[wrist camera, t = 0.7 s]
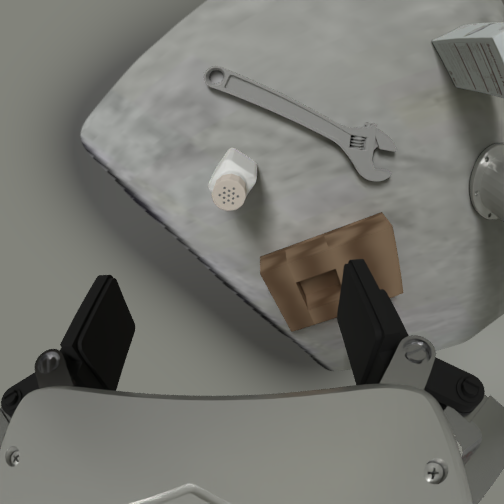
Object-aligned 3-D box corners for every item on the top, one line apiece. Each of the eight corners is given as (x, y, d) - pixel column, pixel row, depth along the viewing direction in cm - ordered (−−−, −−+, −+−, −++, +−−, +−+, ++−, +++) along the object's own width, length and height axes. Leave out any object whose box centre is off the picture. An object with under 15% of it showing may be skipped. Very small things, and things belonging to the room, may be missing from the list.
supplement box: (462, 23, 22) (525, 20, 12) (485, 70, 25) (548, 83, 15) (428, 39, 25) (491, 35, 14) (454, 89, 28) (518, 104, 17)
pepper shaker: (231, 144, 34) (222, 166, 26) (259, 162, 35) (259, 190, 27) (213, 170, 36) (199, 200, 28) (240, 188, 37) (234, 222, 29)
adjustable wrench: (201, 83, 30) (198, 83, 29) (228, 37, 27) (226, 35, 26) (375, 184, 36) (379, 189, 35) (402, 146, 33) (408, 149, 32)
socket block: (381, 212, 38) (392, 225, 35) (394, 276, 44) (403, 292, 40) (260, 256, 42) (260, 273, 39) (289, 313, 48) (291, 331, 45)
